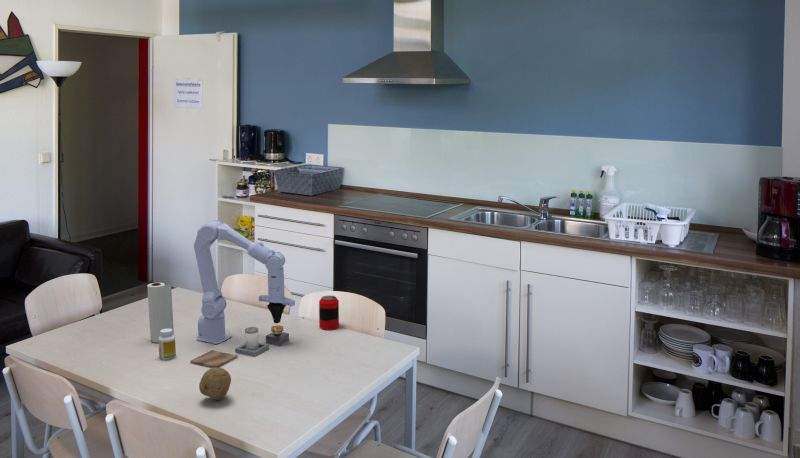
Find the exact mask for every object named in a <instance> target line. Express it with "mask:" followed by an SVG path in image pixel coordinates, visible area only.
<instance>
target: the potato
mask: <svg viewBox="0 0 800 458" xmlns="http://www.w3.org/2000/svg"><path fill="white" fill-rule="evenodd" d="M231 381H232V376H231V374H230V373H229V371H227V370H226V369H224V368H223V367H219V368H217V367H215V368H211V367H210V368H209V369H207V370H206V371H205V372H204V373H203V375H202V376H201V378H200V381H199V383H198V387H199V392H200V393H201V394H202V395H203V396H205V397H209V398H211V399H212V400H214V401H220V400H222V399H223V398H224V397H225V396H226V395H227V394H228V392H229V390H230V387H231V383H232V382H231Z"/></svg>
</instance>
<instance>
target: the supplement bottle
mask: <svg viewBox="0 0 800 458" xmlns="http://www.w3.org/2000/svg"><path fill="white" fill-rule="evenodd" d="M172 334H173V332H172V329H162V330H160V335H161V336H160V337H159V339H158V342H159V343H158V355H159V359H160V360H165V361H166V360H173V359H174V358H176V356H177V353H176V352H177V351H176V337H175V334H174V335H172Z"/></svg>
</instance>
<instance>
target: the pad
mask: <svg viewBox="0 0 800 458" xmlns="http://www.w3.org/2000/svg"><path fill="white" fill-rule="evenodd" d="M236 359H238V355H237V354H233V353H227V352H223V351H218V350H209V351H208V352H205V353H204V354H202V355H198V356H197V357H195V358H192V359H191V360H189V362H190V363H189V364H193V365H199V366H202V367H207V368H210V369H211V368H215V367H217V368H221V367H222V366H224V365H226V364H228V363H230V362H231V361H232V362H233V361H234V360H236Z"/></svg>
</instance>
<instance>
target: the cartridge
mask: <svg viewBox="0 0 800 458" xmlns="http://www.w3.org/2000/svg"><path fill="white" fill-rule="evenodd" d="M244 337H245V339H244V340H245V343H246V350H251V351H255V350H257V349H259V348H258V343H259V328H258V327H256V326H250V327H245V328H244Z"/></svg>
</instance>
